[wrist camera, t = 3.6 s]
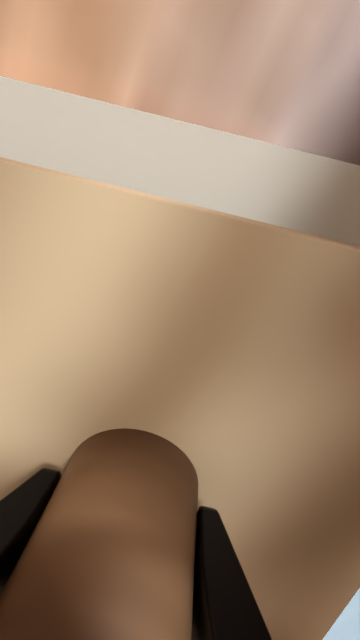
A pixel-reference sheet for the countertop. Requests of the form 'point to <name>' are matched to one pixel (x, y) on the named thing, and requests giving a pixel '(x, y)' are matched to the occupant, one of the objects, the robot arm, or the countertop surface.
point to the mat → (179, 161)
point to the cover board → (174, 408)
